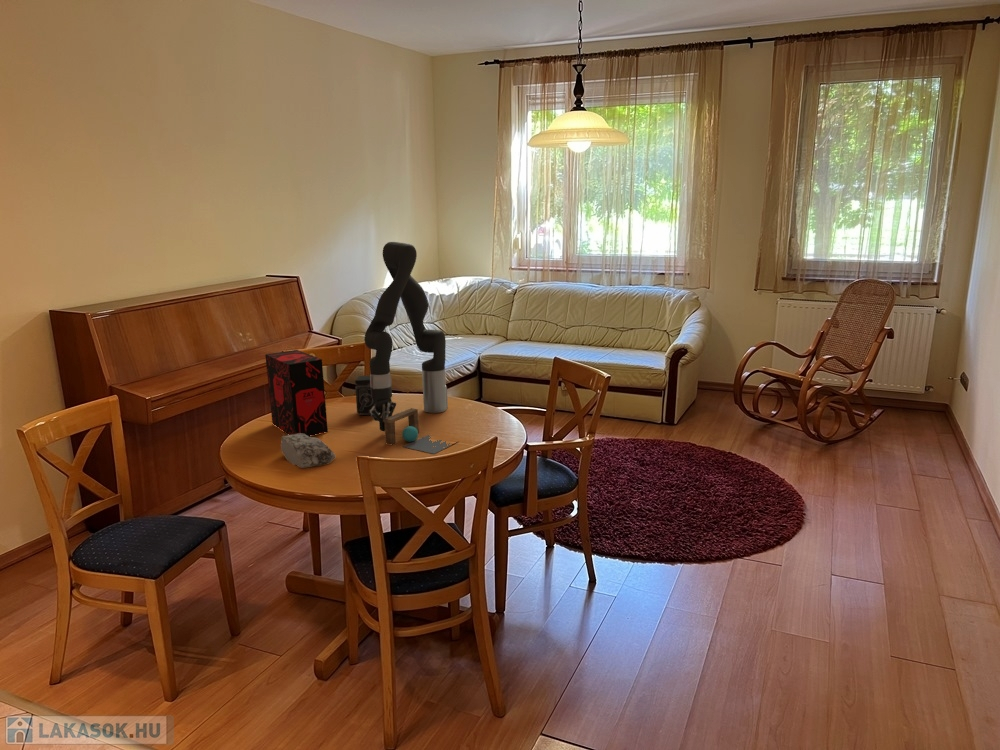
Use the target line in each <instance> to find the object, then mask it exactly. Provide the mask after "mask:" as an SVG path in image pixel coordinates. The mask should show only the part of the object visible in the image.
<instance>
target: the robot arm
mask: <svg viewBox="0 0 1000 750" xmlns="http://www.w3.org/2000/svg"><path fill="white" fill-rule="evenodd" d="M382 259H383V262H384V265H385V266H386V269H387V271H388V273H389V275H390V276H391V279H393V280H392V281H391V283H390V284H389V285H388V287H386V289H385V290H384V291H383V292H382V294H381V295H380V297H379V300H378V301H377V305H376V310H375V312H374V317H373V318H372V320H371V322H370V323H369V325H368V327H367V329H366V331H365V334H364V337H363V338H364V344H365V346H366V347H367V348H368V349H370V350H373V351H374V350H375V356H373V357H371V358H370V360H369V373H370V385H371V398H372V399H373V407H372V409H371V410H368V412H369V414H370V416H371V418H373V420H374V421H376V422H379V423H378V424H379V430H380V432H385V422H384V419H385V418H387V417H390V416H392V415H394V414H393V413H394V411H395V409H396V406H397V403H396V402H394V401H392V397H393V389H392V377H391V368H390V367H391V366H390V365H391V364H390V361H391V355H392V351H393V350H392V349H393V339H392V335H391V334H390V332H387V331H385V330H386V328H387V327H390V326H391V325H393V324H394V320H395V318H396V314H397V311H398V306H399V302H400V300H401V303H402V305H403V308H404V310H405V312H406V315H407V317H408V320H409V323H410V326H411V330H412V333H413V336H414V340H415V344H416V346H417V349H418V350H419V351H420V352H422V353H429V354H430V353H431V354H433V356H432V358H431V359H428V360H424V361H423V362H421V377H422V393H423V395H422V396H423V397H422V399H423V411H424V412H426V413H428V414H429V413H430V414H431V413H432V414H436V413H443V412H445V411H446V410H447V409H448V408H449V405H448V404H449V403H448V386H447V385H446V368H445V367H446V342H447V341H446V335H445V332H443V330H441V329H427V328H426V327H425V324H424V320H425V318H426V315H427V313H428V311H429V301H428V299H427V296H426V292H425V290H424V288H423V287H422V286H421V284H419V282H418V281H417V280H416V279H415V278H414V277H413V276H412V275H411V274H412V272H413V269H414V267H415V264H416V262H417V249H416V248H415V246H414V245H413V244H410V243H405V242H398V241H389V242H386V243H385V244H384V246H383V249H382Z"/></svg>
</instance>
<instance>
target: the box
mask: <svg viewBox="0 0 1000 750" xmlns="http://www.w3.org/2000/svg"><path fill="white" fill-rule="evenodd" d="M264 356H265V365H266V374H267V385H268V395H269V403H270V412H271V413H270V414H271V415H270V416H271V423H273V424H274V425H276V426H277V427H279V428H280V429H281V430H283V431H284V432H283V431H282V432H283V433H285V432H286V433H287V434H286V433H285V434H286V435H288V434H289V435H293V434H297V433H303V434H306V435H307V436H310V435H315V434H319V433H323V434H325V433H324V432H328V433H329V431H328V417H327V416H328V415H327V406H326V405H327V403H326V393H325V382H324V380H325V379H324V370H323V369H324V368H323V359H322V358H320V357H317V356H314V355H311V354H309V353H306V352H304V351H301V350H299V349H293V350H287V351H278V352H273V353H267V354H265V355H264ZM273 424H272V425H273ZM274 425H273V426H274ZM277 427H276V428H277ZM280 429H279V430H280ZM281 430H280V431H281ZM319 435H320V434H319ZM315 436H316V435H315ZM310 437H311V436H310Z"/></svg>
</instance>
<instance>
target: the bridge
mask: <svg viewBox="0 0 1000 750" xmlns="http://www.w3.org/2000/svg"><path fill="white" fill-rule="evenodd" d="M405 418H408V422H407V423H408V426H413V427H415V428H416V429H417V431H418V433H420V430H419V429H420V428H419V409H417V408H413V407H410V408H408V409H405V410H403V411H401V412H398V413H395V414H392V416H390V417H387V418H385V419H384V422H385V431H384V435H385V436H384V437H385V438H384V439H385V444H386V443H387V444H386V445H389V444H392V445H391V446H394V445H396V444H397V438H396V437H397V436H396V422H397V421H400V420H403V419H405ZM395 443H396V444H395ZM393 444H394V445H393Z"/></svg>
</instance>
